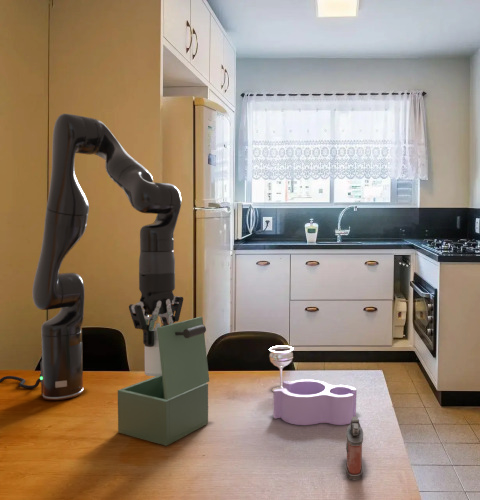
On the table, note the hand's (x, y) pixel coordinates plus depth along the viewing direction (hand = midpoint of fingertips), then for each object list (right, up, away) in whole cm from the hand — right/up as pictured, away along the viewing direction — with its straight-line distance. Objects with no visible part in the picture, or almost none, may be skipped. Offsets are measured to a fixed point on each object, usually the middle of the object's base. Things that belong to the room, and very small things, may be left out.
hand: (157, 343), depth 113 cm
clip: (+35, -20, +11) cm, 42 cm away
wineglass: (+23, -19, +28) cm, 41 cm away
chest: (+1, -20, +2) cm, 20 cm away
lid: (+7, -2, -2) cm, 8 cm away
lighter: (+46, -23, -15) cm, 53 cm away
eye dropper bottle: (0, -7, +1) cm, 7 cm away
